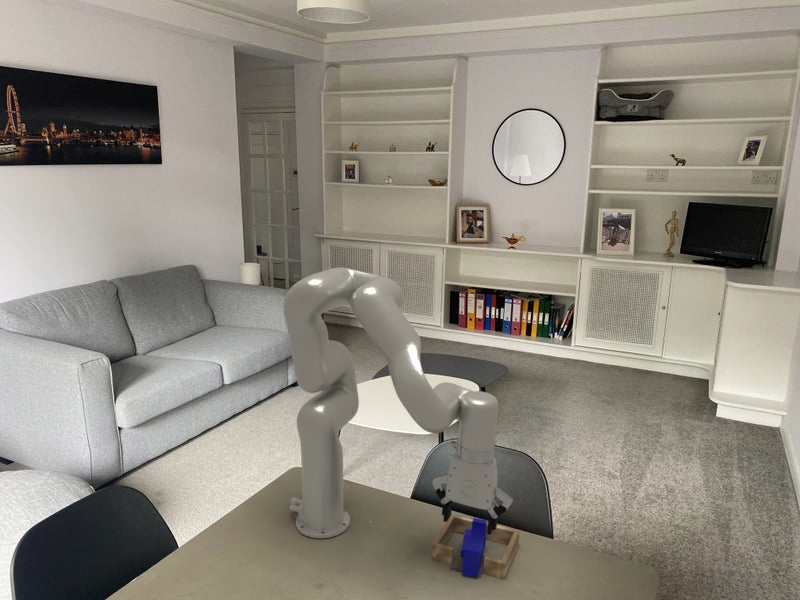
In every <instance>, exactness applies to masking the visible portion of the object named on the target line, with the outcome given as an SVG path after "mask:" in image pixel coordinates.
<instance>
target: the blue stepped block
mask: <svg viewBox="0 0 800 600" xmlns="http://www.w3.org/2000/svg"><path fill="white" fill-rule="evenodd" d="M472 519H473V521H472V530H470V529H466V531H465V534H464V533H463V534H464V535H463V540H462V545H461V557H463V573H462V576H466V577H469V578H470V577H471V578H475V579H477V578H478V577H477V576H478V572H479V568H480V564H481V560H482V556H483V555H484V552H485V548H486V545H487V543H486V541H487V539H486V527H487V523H488V520H487V519H481V518H476V517H473V518H472Z"/></svg>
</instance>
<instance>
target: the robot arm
mask: <svg viewBox="0 0 800 600" xmlns="http://www.w3.org/2000/svg"><path fill="white" fill-rule="evenodd" d="M403 303H404V293H403V290H402V288H401V287H400V285H399V283H397V282H396V281H395V280H393V279H391V278H390V277H389V278H388V277H387V276H386V277H385V276H384V275H383V276H382V275H378V274H374V273H369V272H365V271H361V270H357V269H353V268H349V267H340V266H339V267H333V268H328V269H326V270H323V271H319V272H316V273H313V274H310V275H308V276H305V277H304V278H302V279H300V280H299V281H297V282H296V283H294V284H293V285H291V287H290V288H289V289H288V290H287V292H286V294H285V297H284V301H283V315H284V320H285V324H286V327H287V331H288V332H287V333H288V336H289V344H290V351H291V356H292V362H293V367H294V368H293V369H294V374H295V379H296V382H297V384H298V387H299V388H300V389H301V390H302V391H304V392H306V393H309V394H314V393H315V395H314V396H313V397H311V398H310V399H309V400H307V401H306V402H305V403H303V405H302V407H300V409H299V411H298V413H297V417H296V429H297V433H298V438H299V441H300V442H299V443H300V453H301V454H300V455H301V491H302V492H301V495H302V498H299V497H294V496H292V497H291V499H290V502H289V503H290V504H289V505H290V506H289V511H291V512H296V513H297V514H298V515H297V517H296V519H295V520H296V521H295V526H296V529H297V530H298V532H299V533H301V534H302V535H303V536H306V537H309V538H314V539H330V538H333V537H336V536H339V535H341V534H342V533H344V532H345V531H346V530H347V529H348V528H349V526H350V523H351V516H350V514H349V512H348V511H347V510H346V509H344V452H343V450H344V449H343V445H342V443H341V440H340V436H339V434H340V431H341V430H342V429H343V428H344V427H345V426H346V425H347V424H348V423H349V422H351V421H352V420H353V419H354V417H356V415H357V413H358V410H359V406H360V405H359V404H360V399H359V390H358V384H357V379H356V372H355V365H354V360H353V357H352V355H351V353H350V351H349V349H348V348H347V346H346V345H344V344H343V343H342V342H340V341H337V340H330V339H329V332H328V328H327V325H326V323H325V320H324V319H323V318H322V314H323V313H326V312H328V311H331V310H333V309H336V308H338V307H340V306H343V305H348V306H350V309H351V311H352V313H353V316H354V317H355V318H356V319H357V321H358V323H359V324H360V325H361V327H362V328H363V330H364V331H365V332H366V333H367V335H368V337H369V338H370V339H371V340H372V342H373V344H375V346H376V347H377V349H378V350H379V351H380V353H381V354H382V356H383V358H384V359H385V360H386V362H387V366H388V371H389V375H390V380H391V381H392V385H393V388H394V391H395V394H396V396H397V398H398V399H399V401H400V403H401V404H402V406H403V407H404V409H405V410H406V412H407V413H408V415H409V416H410V417H411V419H412V420H413V421H414V422H415V423H416V424H417V425H418V426H419V427H420V428H421V429H422V430H424V431H425V432H427V433H431V434H440V433H443V432H444V431H446V430H448V429H449V428H450V427H451V425H452V424H453V422H454V421H457V420H458V421H459V425H458V437H457V440H451V442H450V447H451V448H454V449H455V452H454V453H452V457H451V459H450V462H449V466H448V471H447V475H444V476H439V477H434V479H433V480H432V481H431V484H432V485H433V489H434V490H435V494H436V496H437V497H438V499H439V500H440V503H441V505H442V509H441V515H442V516H443V522H444V523H446V522H447V521H448V519H449V518H450V516H451V514H452V508H453V507H452V506H453V503H457V504H459V505H464V506H467V507H471V508H475V509H478V510H481V511H487V512H488V513H489V517H488V520H487V523H488V529H487V534H488V535H491V533H492V531H493V530H496V527H497V525H498V518H499V516H501V515H503V514H505V513H506V511H507V510H508V509H509V508H510V506H511V505H512V504H513V502H514V499H513V497H511V496H509V495H508V494H507V493H506V492H505V491H504V490H502V489H501V488H500V487H498V467H497V459H496V457H494V455H495V445H496V444H495V443H496V434H497V433H496V432H497V422H498V416H499V415H498V414H499V401H498V399H497V397H496V396H494V395H493V394H491V393H489V392H485V391H480V390H475V391H474V390H472V389H469V388H466V387H463V386H461V385H459V384H457V383H452V382H447V381H445V382H441V383H438V384H436V385H435V386H434V388H433V387H432V386H431V383H429V381H428V379H427V377H426V376H425V373H424V370H423V367H422V363H421V362H422V361H421V348H422V347H421V345H422V342H421V338H420V335H419V333H418V332H417V331H416V330H415V328H414V326H412V324H411V323H410V322H409V320H408V319H407V317H406V316H405V314H404V313H403V311H402V310H401V307H402V305H403ZM316 393H317V394H316ZM442 485H445V488H444V487H443V486H442ZM497 498H498V499H499V500H500V501H502V503H501V504H500V505H499V504H497V502H496V499H497Z"/></svg>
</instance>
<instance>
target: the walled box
mask: <svg viewBox="0 0 800 600" xmlns="http://www.w3.org/2000/svg"><path fill="white" fill-rule="evenodd" d="M472 521H473V518H469V517H466V516H460V515H456V514H452V513H451V516H450V518H449V519H448V521H447V522H445V524H444V525H443V527H442V528H441V530H440V532H439V534H438V535H437V536H436V538H435V539H434V540H433V543H432V544H431V560H432V561H433V560H434V561H437V562H441V563H443V564H448V565H450V567H449V570H452V571H456V572H459V573H462V574H463V557H461V549H462V548H461V549H459V551H458V553H457V554H456V556H455V558H454V550H455V549H454V546H450V545H446V544H447V543H448V541H449V539H450V537H451V536H452V535H453V532H458V533H460V534H465V531H466V529H470V530H472ZM487 529H488V522H487V527H486V541H492V542H495V543H499V544H503V545H507V548H506V550H505V552H504V555H503V557H502V559H498V558H495V557H490V556H487V555H484V554H483V556H482V560H481V564H480V568H479V572H478V576H477V578H481V577H482V576H483V574H484V575H487V576H490V577H495V578H498V579H501V580H505V579H506V576H507V575H508V572H509V570H510V567H511V564H512V562H513V560H514V557H515V554H516V552H517V551H518V548H519V545H520V544H519V540H520V530H518V529H513V528H510V527H506V526H501V525H498V524H497V527H496V530H493V531H492V533H491V535H488V534H487Z"/></svg>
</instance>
